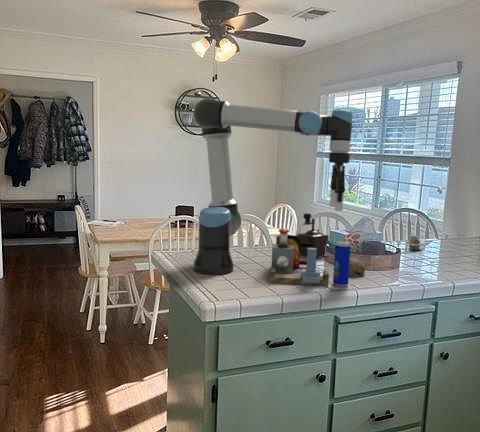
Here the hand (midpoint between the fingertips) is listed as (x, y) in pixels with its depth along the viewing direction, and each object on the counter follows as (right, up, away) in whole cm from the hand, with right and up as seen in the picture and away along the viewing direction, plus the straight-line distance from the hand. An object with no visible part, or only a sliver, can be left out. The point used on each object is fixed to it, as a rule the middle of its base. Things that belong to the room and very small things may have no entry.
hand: (335, 208), depth 183 cm
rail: (-16, -26, -13) cm, 33 cm away
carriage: (-12, -26, -14) cm, 32 cm away
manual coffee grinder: (-5, -20, +37) cm, 42 cm away
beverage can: (-1, -27, -14) cm, 31 cm away
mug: (-15, -23, +11) cm, 30 cm away
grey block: (-20, -24, 0) cm, 32 cm away
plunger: (-20, -14, -1) cm, 25 cm away
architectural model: (+50, -20, +55) cm, 77 cm away
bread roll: (+6, -25, +2) cm, 26 cm away
